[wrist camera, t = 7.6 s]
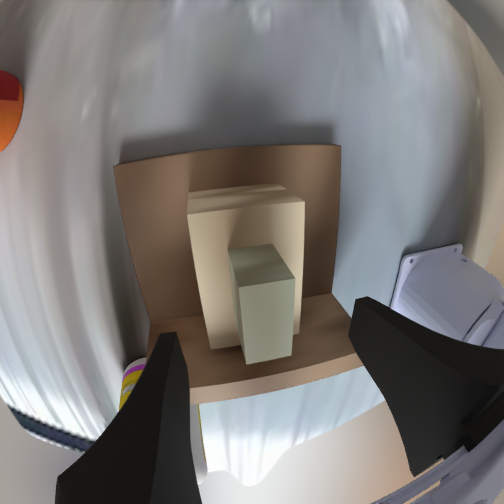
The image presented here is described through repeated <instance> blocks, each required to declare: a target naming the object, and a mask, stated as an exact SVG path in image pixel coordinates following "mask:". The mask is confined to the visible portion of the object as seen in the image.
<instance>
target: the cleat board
mask: <svg viewBox="0 0 504 504" xmlns="http://www.w3.org/2000/svg"><path fill="white" fill-rule="evenodd" d="M113 168H114V175H115V181H116V187H117V193H118V198H119V204H120V209H121V214H122V219H123V223H124V228H125V232H126V237H127V241H128V245H129V249H130V253H131V257H132V261H133V265H134V268H135V272H136V276H137V279H138V283H139V286H140V289H141V293H142V296H143V299H144V302H145V305H146V309H147V312H148V315H149V318H150V321H151V324H150V332H149V340H148V348H147V357H146V363H147V361H148V359H149V356H150V354H151V352H152V350H153V348H154V345H155V343H156V341H157V338H158V336H159V335H160V333H167V332H177V336H178V339H179V342H180V346H181V349H182V352H183V355H184V358H185V361H186V364H187V368H188V377H189V386H190V405H191V404H200V403H208V402H216V401H223V400H230V399H236V398H242V397H247V396H253V395H258V394H263V393H268V392H272V391H277V390H281V389H286V388H290V387H294V386H298V385H302V384H306V383H309V382H313V381H317V380H320V379H324V378H327V377H330V376H334V375H337V374H340V373H343V372H346V371H349V370H352V369H355V368H358V367H361V366H364V365H363V363H362V362H361V360H360V359H359V357H358V355H357V354H356V352H355V349H354V347H353V345H352V343H351V341H350V339H349V336H348V333H349V328H350V324H351V317H350V316H349V315H348V313H347V312H346V311H345V309H344V308H343V307H342V306H341V304H340V303H339V302H338V300H337V299H336V298H335V297H334V295H333V294H332V293H331V292H332V284H333V275H334V266H335V256H336V245H337V233H338V219H339V202H340V177H341V146H339V145H334V144H281V145H258V146H243V147H230V148H219V149H210V150H201V151H192V152H185V153H177V154H170V155H164V156H158V157H152V158H146V159H140V160H135V161H130V162H125V163H120V164H117V165H115V166H113ZM273 183H278V184H280V185H281V186H283V187H284V188H286V189H287V190H289V191H290V192H292V193H293V194H295V195H296V196H298V197H299V198H300V199H302V200H303V201H305V222H304V256H303V278H302V297H301V312H300V327H299V334H295V335H293V339H292V355H291V356H286V357H282V358H277V359H272V360H268V361H263V362H257V363H252V364H246V361H245V358H244V354H243V350H242V346H241V345H238V346H231V347H225V348H219V349H212V350H211V347H210V343H209V338H208V333H207V328H206V323H205V319H204V314H203V308H202V303H201V298H200V293H199V287H198V282H197V276H196V270H195V264H194V258H193V252H192V246H191V239H190V233H189V226H188V219H187V206H188V193H189V192H197V191H205V190H213V189H222V188H231V187H240V186H250V185H261V184H273Z"/></svg>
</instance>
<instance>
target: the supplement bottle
mask: <svg viewBox="0 0 504 504" xmlns="http://www.w3.org/2000/svg"><path fill="white" fill-rule="evenodd" d="M145 365H146V357H145V358H141V359H138V360H136V361H134V362H132V363H131V364H130V365H128V367H127V368H126V369H125V372H124V375H123V381H122V389H121V396H120V405H119V410H120V409H121V407H122V406H123V404H124V403H125V401H126V400H127V398H128V396H129V395H130V393H131V391H132V389H133V387H134V386H135V384H136V382H137V380H138V379H139V377H140V375H141V373H142V371H143V369H144V367H145ZM190 438H191V449H192V456H193V462H194V468H195V473H196V478H197V483H198V485H199V484H201V482H203V481H204V480H205V478H206V476H207V464H206V457H205V451H204V444H203V437H202V429H201V420H200V411H199V404H191V405H190Z"/></svg>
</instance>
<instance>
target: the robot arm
mask: <svg viewBox="0 0 504 504" xmlns="http://www.w3.org/2000/svg"><path fill="white" fill-rule="evenodd" d="M462 249H463V245H462V244H460V243H459V244H455V245H450V246H446V247H441V248H437V249H432V250H427V251H423V252H418V253H413V254H409V255H405V256H404V257H403V258H402V261H401V266H400V271H399V275H398V279H397V283H396V287H395V291H394V295H393V299H392V303H391V306H390V308H389V307H387V306H385V305H383V304H382V303H380V302H378V301H376V300H374V299H372V298H370V297H368V296H367V297H363V298H359V299H355V304H354V310H353V314H352V319H351V324H350V328H349V333H348V336H349V339H350V341H351V343H352V345H353V347H354V349H355V352H356V354H357V355H358V357H359V359H360V360H361V362H362V363H363V365H364V366H365V368H366V369H367V371H368V372H369V374H370V375H371V377H372V379H373V380H374V382H375V383H376V385H377V386H378V388H379V389H380V391H381V393H382V394H383V396H384V398H385V400H386V402H387V404H388V406H389V408H390V410H391V413H392V415H393V417H394V419H395V422H396V424H397V427H398V429H399V432H400V435H401V438H402V441H403V444H404V447H405V451H406V455H407V458H408V463H409V467H410V471H411V473H412V474H413V476H414V477H415V476H417V475H419V474H420V473H422V472H423V471H425V470H426V469H428V468H430V467H431V466H433V465H434V464H435V463H437V462H438V461H440V460H441V459H442V458H444V461H442V462H441V463H440V464H438V465H437V466H435V467H434V468H433V469H431V470H430V471H428V472H427V473H425V474H423V475H422V476H420V477H419V478H417V479H416V480H414V481H412V482H411V483H409V484H407V485H406V486H404V487H402V488H400V489H398V490H397V491H395V492H393V493H391V494H389V495H387V496H385V497H383V498H381V499H379V500H377V501H375V502H373V503H371V504H403V503H404V502H406V501H408V500H410V499H411V498H413V497H415V496H416V495H417V494H419V493H421V492H422V491H424V490H426V489H427V488H429V487H430V486H431V485H433V484H434V483H436V482H437V481H439V480H440V479H441V481H440V485H439V486H437V487H435V488H434V489H432V490H431V491H429V492H427V493H426V494H424V495H422V496H421V497H419V498H418V499H416V500H415V501H414V502H412V503H410V504H492V503H493V502H494V500H495V499H496V498H497V496H498V495H499V494H500V492H501V491H502V489H503V488H504V289H503V286H502V285H501V283H500V281H499V280H498V279H496V277H494V276H493V275H492V274H490V273H489V272H488V271H486V270H485V269H483V268H482V267H480V266H479V265H478V264H476V263H475V262H473V261H472V260H470V259H469V258H467V257H466V256H464V255H463V254H461V253H462ZM55 504H202V501H201V497H200V493H199V488H198V483H197V478H196V473H195V468H194V462H193V456H192V449H191V438H190V386H189V377H188V368H187V364H186V361H185V358H184V355H183V352H182V349H181V346H180V342H179V339H178V336H177V332H167V333H160V335H159V336H158V338H157V341H156V343H155V345H154V348H153V350H152V352H151V354H150V356H149V359H148V361H147V363H146V365H145V367H144V369H143V371H142V373H141V375H140V377H139V379H138V380H137V382H136V384H135V386H134V387H133V389H132V391H131V393H130V395H129V396H128V398H127V400H126V401H125V403H124V404H123V406H122V407H121V409H120V410H119V412H118V413H117V415H116V416H115V418H114V419H113V420H112V422H111V423H110V424H109V426H108V427H107V428H106V429H105V431H104V432H103V433H102V434H101V436H100V437H99V438H98V439H97V440H96V441H95V442H94V443H93V445H92V446H91V447H90V448H89V449H88V450H87V451H86V452H85V453H84V454H83V455H82V456H81V457H80V458H79V459H78V460H77V461H76V462H75V463H73V464H72V465H71V466H70V467H69V468H68V469H66V470H65V471H64V472H63V473H62V474H60V475H59V476H58V478H57V485H56V495H55Z"/></svg>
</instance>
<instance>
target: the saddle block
mask: <svg viewBox="0 0 504 504" xmlns="http://www.w3.org/2000/svg"><path fill="white" fill-rule="evenodd" d="M187 219H188V226H189V233H190V239H191V246H192V252H193V258H194V264H195V270H196V276H197V282H198V287H199V293H200V298H201V303H202V308H203V314H204V319H205V323H206V328H207V333H208V338H209V343H210V347H211V350H212V349H219V348H225V347H231V346H238V345H241V346H242V350H243V354H244V358H245V361H246V364H252V363H257V362H263V361H268V360H272V359H277V358H282V357H286V356H291V355H292V339H293V335H295V334H299V327H300V312H301V297H302V278H303V256H304V222H305V201H303V200H302V199H300V198H299V197H298V196H296V195H295V194H293V193H292V192H290V191H289V190H287V189H286V188H284V187H283V186H281V185H280V184H278V183H273V184H261V185H250V186H240V187H231V188H222V189H213V190H205V191H197V192H189V193H188V206H187Z"/></svg>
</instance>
